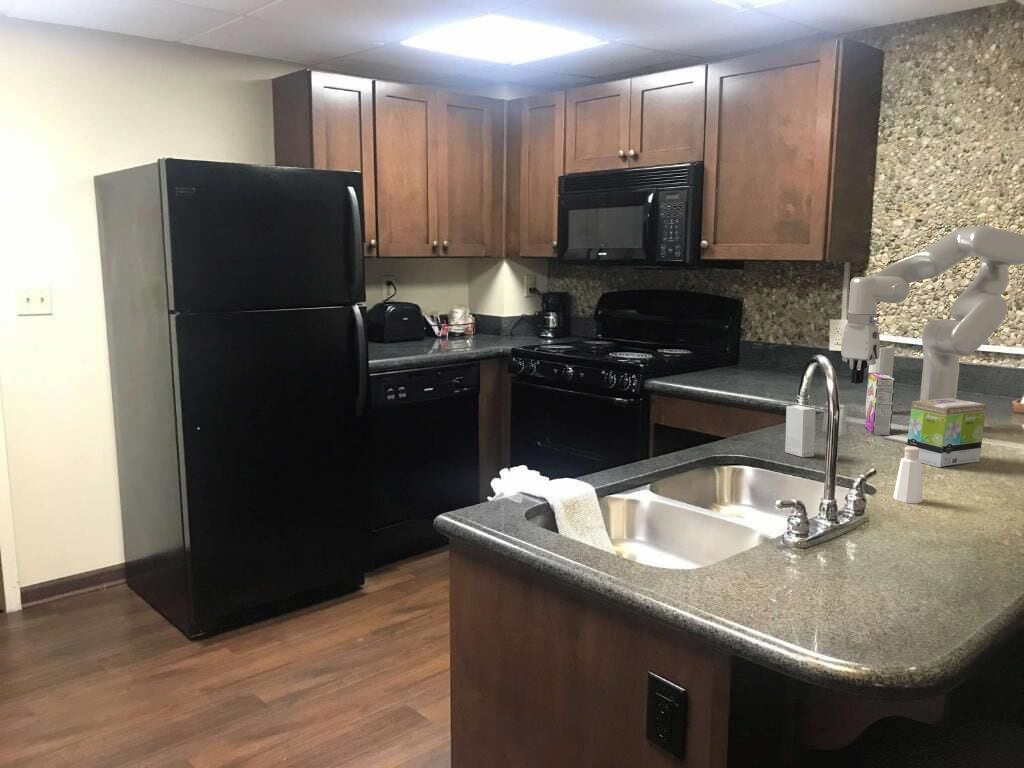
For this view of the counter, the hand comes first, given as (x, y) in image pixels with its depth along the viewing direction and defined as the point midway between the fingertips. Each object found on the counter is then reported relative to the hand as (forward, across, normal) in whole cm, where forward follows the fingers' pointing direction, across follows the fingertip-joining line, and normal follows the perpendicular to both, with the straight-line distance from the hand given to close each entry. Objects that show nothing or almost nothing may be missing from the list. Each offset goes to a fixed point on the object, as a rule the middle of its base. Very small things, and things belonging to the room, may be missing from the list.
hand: (856, 382), depth 239 cm
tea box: (+13, -38, +14) cm, 43 cm away
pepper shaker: (+13, -55, +53) cm, 78 cm away
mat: (+13, -22, 0) cm, 26 cm away
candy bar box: (+13, -8, 0) cm, 15 cm away
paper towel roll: (+13, +12, -27) cm, 32 cm away
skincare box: (+13, -17, +42) cm, 47 cm away
